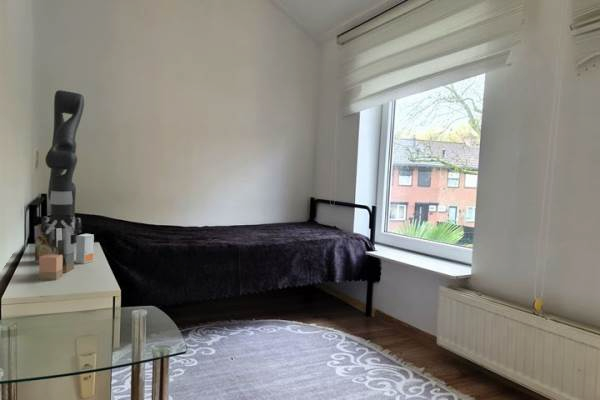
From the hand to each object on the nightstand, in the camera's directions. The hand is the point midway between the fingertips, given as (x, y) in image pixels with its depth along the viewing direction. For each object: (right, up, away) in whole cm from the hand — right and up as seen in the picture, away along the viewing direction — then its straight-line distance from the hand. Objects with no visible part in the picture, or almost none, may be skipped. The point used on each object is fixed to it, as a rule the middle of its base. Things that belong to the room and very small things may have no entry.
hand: (61, 243), depth 171 cm
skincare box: (0, -10, +18) cm, 21 cm away
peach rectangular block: (+1, -12, -8) cm, 14 cm away
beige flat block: (0, -8, -3) cm, 8 cm away
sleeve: (-1, -11, +3) cm, 12 cm away
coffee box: (-13, -10, +15) cm, 22 cm away
